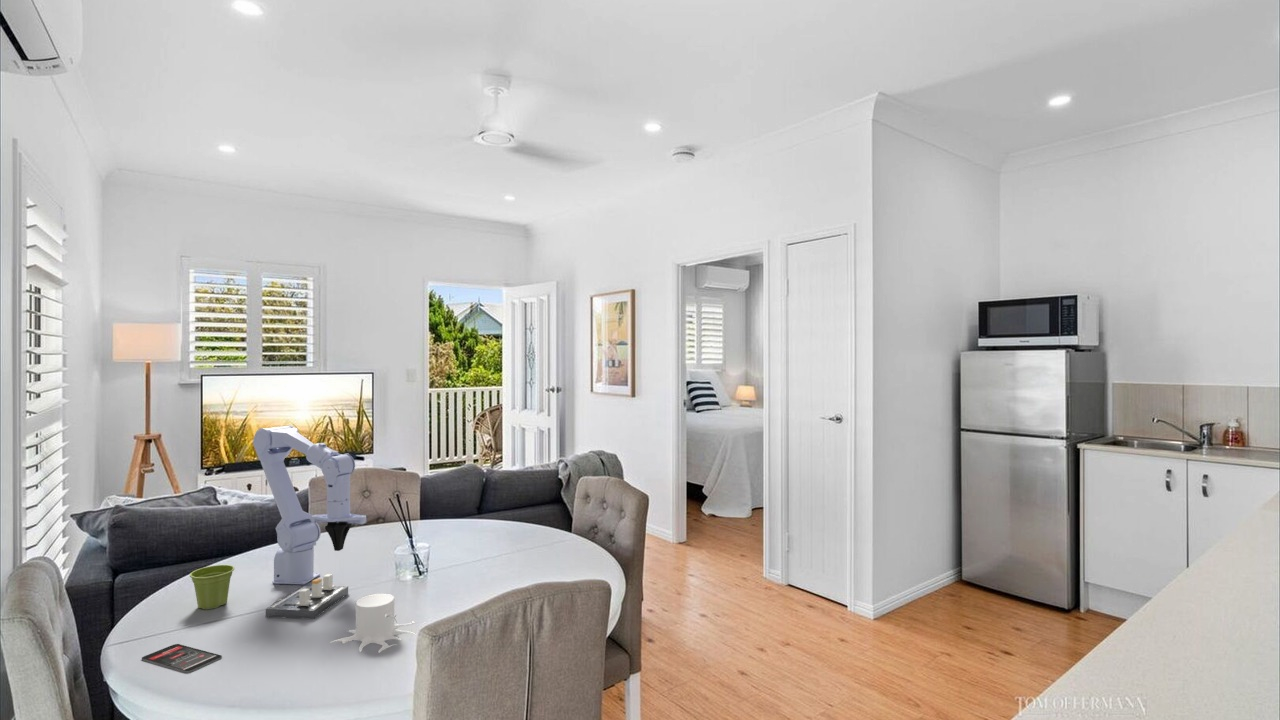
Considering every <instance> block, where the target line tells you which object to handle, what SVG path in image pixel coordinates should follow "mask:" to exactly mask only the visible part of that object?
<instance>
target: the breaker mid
mask: <svg viewBox="0 0 1280 720" xmlns="http://www.w3.org/2000/svg"><path fill="white" fill-rule="evenodd" d="M311 585H312V594H311V595H310V597H315V598H320V597H321V596H323V595H324V594H325V593H322V586H323V579H322V578H314V579H313V580H311Z"/></svg>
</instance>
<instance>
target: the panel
mask: <svg viewBox="0 0 1280 720" xmlns="http://www.w3.org/2000/svg"><path fill="white" fill-rule="evenodd" d="M322 587H323V585H322ZM302 589H310V595H311V594H312V584H303V585H302V586H300V587H299V588H297V589H296V590H293V592H291V593H289V594H287V595H286V596H284V597H283V598H281V599H279V600H278V601H276V602H274V603H273V604H271V605H270V606H268V607H266V608H265V618H274V617H286V618H285V619H302V618H314V619H316V618H317V617H318V616H320V615H321V614H323V613H324V612H325V611H326V609H327V608H328V607H329V608H330V606H331V605H332V606H334V605H335V604H336V603H338V602H339V601H341V600H342V599H343V598H344V597H343V596H345V595H346V594H347V595H349V586H347V585H345V586H343V585H335V587H334V588H333V589H331V590H322V593H325V594H324V595H323V596H321V597H320V598H315V597H310V601H313V602H312V603H311V604H309V605H308V606H299V605H296V604H297V603H298V602H299V591H301V590H302ZM347 595H346V596H347ZM346 596H345V597H346ZM342 597H343V598H342ZM341 598H342V599H341ZM338 600H339V601H338ZM337 601H338V602H337ZM335 602H336V603H335ZM334 603H335V604H334ZM333 604H334V605H333ZM332 606H331V607H332ZM329 608H328V609H329ZM328 609H327V610H328ZM323 611H324V612H323ZM322 612H323V613H322ZM319 614H320V615H319ZM315 617H316V618H315Z"/></svg>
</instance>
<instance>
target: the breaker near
mask: <svg viewBox="0 0 1280 720" xmlns="http://www.w3.org/2000/svg"><path fill="white" fill-rule="evenodd" d="M312 602H313V601H310V589H302V590H301V591H299V602H298V603H297V604H296V605H299V606H308V605H309V604H311V603H312Z"/></svg>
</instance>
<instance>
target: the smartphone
mask: <svg viewBox="0 0 1280 720" xmlns="http://www.w3.org/2000/svg"><path fill="white" fill-rule="evenodd" d="M222 658H223V655H221V654H217V653H214V652H210V651H206V650H202V649H198V648H195V647H191V646H187V645H185V644H180V643H175V644H171V645H170V646H167V647H163V648H162V649H160V650H157V651H153V652H152V653H149V654H147V655H144V656H142V657H141V661H144V662H147V663H150V664H153V665H157V666H161V667H163V668H167V669H170V670H173V671H178V672H180V673H183V674H191V673H193V672H195V671H197V670H199V669H202V668H204V667H207V666H208V665H210V664H213V663H215V662H217V661H220V660H222Z"/></svg>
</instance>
